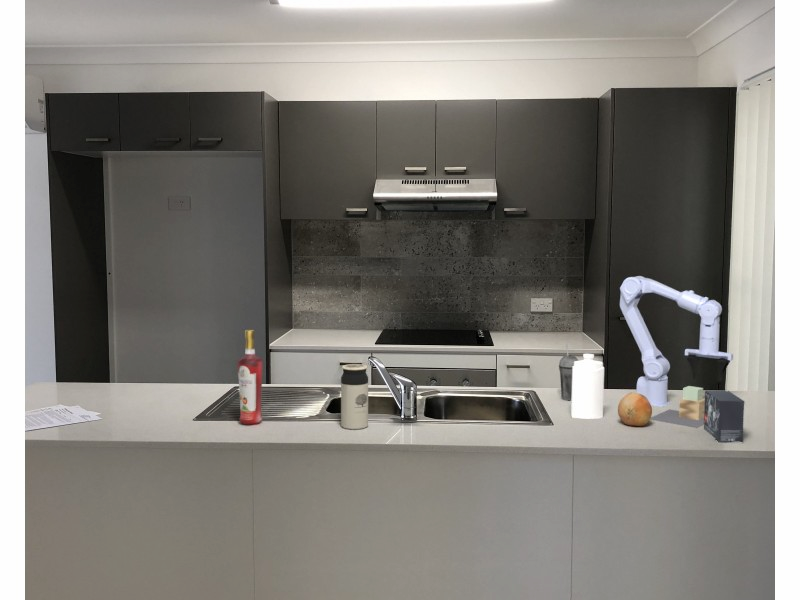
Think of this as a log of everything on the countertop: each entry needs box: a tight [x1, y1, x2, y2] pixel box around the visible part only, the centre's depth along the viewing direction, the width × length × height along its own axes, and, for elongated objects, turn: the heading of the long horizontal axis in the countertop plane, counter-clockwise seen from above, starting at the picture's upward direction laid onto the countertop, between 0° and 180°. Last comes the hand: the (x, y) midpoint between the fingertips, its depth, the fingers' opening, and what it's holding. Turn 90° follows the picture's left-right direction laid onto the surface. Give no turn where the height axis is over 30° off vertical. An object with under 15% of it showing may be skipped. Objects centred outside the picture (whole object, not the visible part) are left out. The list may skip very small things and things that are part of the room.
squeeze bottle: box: [570, 353, 605, 420], centre depth 222 cm, size 10×20×5 cm
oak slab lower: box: [678, 407, 704, 420], centre depth 223 cm, size 6×6×3 cm
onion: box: [617, 392, 653, 427], centre depth 213 cm, size 10×10×10 cm
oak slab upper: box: [678, 397, 705, 411], centre depth 223 cm, size 6×6×3 cm
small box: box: [703, 390, 745, 443], centre depth 202 cm, size 13×7×12 cm, turn 174°
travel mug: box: [340, 363, 369, 430], centre depth 210 cm, size 8×8×18 cm
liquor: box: [237, 329, 264, 426], centre depth 212 cm, size 7×7×28 cm
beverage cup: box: [558, 342, 579, 402], centre depth 247 cm, size 7×7×20 cm
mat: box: [649, 408, 704, 429], centre depth 221 cm, size 15×17×1 cm
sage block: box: [682, 385, 704, 401], centre depth 222 cm, size 4×4×4 cm
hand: (707, 379), depth 231 cm, fingers open, 7 cm apart
